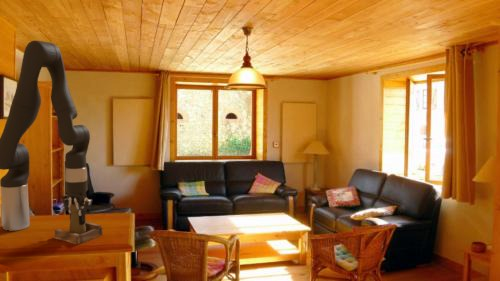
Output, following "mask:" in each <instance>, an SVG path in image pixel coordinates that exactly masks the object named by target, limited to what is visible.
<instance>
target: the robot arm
mask: <svg viewBox="0 0 500 281" xmlns="http://www.w3.org/2000/svg"><path fill="white" fill-rule="evenodd" d="M63 59H64V58H63V55H62V52H61V50H60V48H59V46H57V45H56V44H55V43H52V42H48V41H43V40H31V41H30V42H28V43H27V45H26V47H25V49H24V52H23V56H22V62H21V67H20V74H19V77H18V81H17V85H16V88H15V93H14V95H13V98H12V101H11V105H10V108H9V112H8V116H7V119H6V122H5V125H4V128H3V130H2V133H1V135H0V170H2V171H4V170H8V171H7V172H6V174H5V175H3V176H2V177H1V178H0V199H1V201H0V202H1V203H0V220H1V222H0V223H1V227H2V229H3V230H4V231H7V230H9V232H10V231H12V232H14V231H21V230H24V229H27V228H29V227H30V224H31V223H30V206H29V204H30V203H29V187H28V186H29V185H28V184H29V183H28V179H29V178H30V152H29V149H28V148H27V146H26V145H24V144H23V143H20V141H21V139H22V138H23V136H24V135H25V134H26V132H27V131H28V130H29V129H30V128H31V127H32V125H33V124H34V122H35V121H36V120H37V117H38V114H39V111H40V109H41V104H42V97H41V93H40V90H39V85H38V84H39V82H38V81H39V77H40V73H41V70H42V68H46V69H47V71H48V73H49V75H50V79H51V91H50V102H51V105H52V107H53V111H54V113H55V115H56V119H57V129H58V130H57V131H58V137H59V139H60V141H61V143H62V144H64V145H65V146H67V147H69V146H70V147H71V146H72V148H71V150H69V151H67V152H66V153H65V159H64V160H65V169H64V170H65V171H64V179H65V182H64V184H65V192H66V193H67V194H64V195H62V196H61V199H62V203H63V207H64V209H65V212H68V214H69V221H70V220H71V211H70V205H72V204H75V205H76V208H77V210H79V212H78V213H79V224H80V225H83V224H85V222H86V215H87V214H90V212H91V209H92V205H93V199H92V198H90V199H89V198H88V197H87V191H88V189H89V188H88V170H87V153H88V150H89V145H90V140H91V135H90V131H89V129H88V127H87V126H85V125H83V124H77V125H73V121H74V120H75V119H77V117H78V111H77V108H76V105H75V103H74V100H73V97H72V94H71V92H70V91H71V90H70V89H69V85H68V79H67V74H66V70H65V64H64V60H63ZM81 205H83V206H82V207H80V206H81ZM81 209H83V212H82V211H81Z"/></svg>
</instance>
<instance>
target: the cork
mask: <svg viewBox="0 0 500 281" xmlns="http://www.w3.org/2000/svg"><path fill="white" fill-rule="evenodd" d="M82 206H83V205H81V206H80V207H82ZM70 211H71V220H70V219H69V221H70V222H69V230H68V231H69V232H72V233H76V234H82V233H84V232H86V226H85V224H83V225H80V224H79V213H78V212H79V210H77V208H76V205H75V204H72V205H70ZM81 211H82V212H83V209H81Z"/></svg>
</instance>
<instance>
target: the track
mask: <svg viewBox="0 0 500 281" xmlns="http://www.w3.org/2000/svg"><path fill="white" fill-rule="evenodd" d="M85 226H86V232H84V233H82V234H76V233H72V232H69V230H63V229H61V228H56V229H54V236H53V239H56V240H60V241H63V242H67V243H71V244H75V245H77V246H79V245H81V244H84V243H87V242H88V241H91V240H93V239H96V238H99V237H100V236H102V235H103V227H102V225H101V224H97V223H94V222H89V221H85Z"/></svg>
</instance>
